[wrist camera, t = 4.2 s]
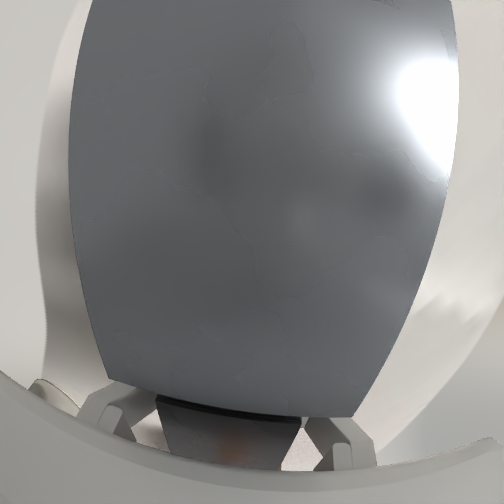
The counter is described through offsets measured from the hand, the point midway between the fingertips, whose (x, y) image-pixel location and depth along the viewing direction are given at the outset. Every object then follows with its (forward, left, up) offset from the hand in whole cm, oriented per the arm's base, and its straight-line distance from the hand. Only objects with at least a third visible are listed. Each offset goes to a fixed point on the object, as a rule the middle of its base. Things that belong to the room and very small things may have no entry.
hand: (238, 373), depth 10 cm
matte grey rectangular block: (-7, 0, -3) cm, 7 cm away
